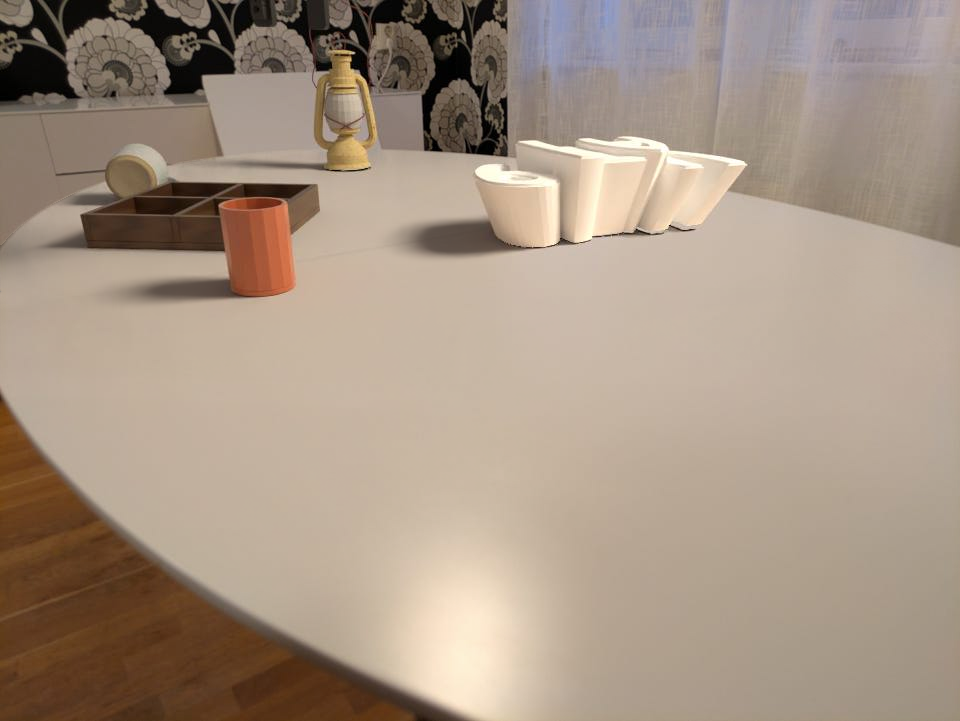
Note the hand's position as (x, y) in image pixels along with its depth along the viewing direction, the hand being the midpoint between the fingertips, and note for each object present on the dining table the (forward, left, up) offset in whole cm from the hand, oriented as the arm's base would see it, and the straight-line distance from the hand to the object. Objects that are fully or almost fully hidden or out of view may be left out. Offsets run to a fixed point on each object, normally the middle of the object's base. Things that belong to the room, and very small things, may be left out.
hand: (293, 28), depth 67 cm
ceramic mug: (-32, +27, -23) cm, 48 cm away
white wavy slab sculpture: (+34, +13, -23) cm, 43 cm away
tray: (-15, +10, -23) cm, 29 cm away
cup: (-1, -13, -23) cm, 26 cm away
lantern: (-9, +60, -23) cm, 65 cm away
